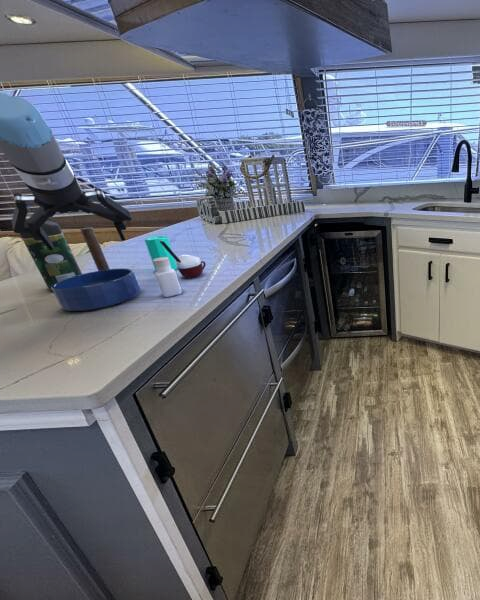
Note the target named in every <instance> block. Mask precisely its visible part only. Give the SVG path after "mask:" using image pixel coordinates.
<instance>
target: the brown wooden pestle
mask: <svg viewBox="0 0 480 600" xmlns="http://www.w3.org/2000/svg"><path fill="white" fill-rule="evenodd" d="M80 232H81V234H82V236H83V239H84V241H85V244H86V246H87V248H88V250H89V254H91V257H92V260H93V262H94V264H95V267H96V269H97V271H100V270H108V269H110V266H109V264H108V262H107V259H106V256H105V254H104V252H103V250H102V247H101V245H100V243H99V240H98V238H97V235H96V233H95V231H94V228H93V227H83V228H80Z"/></svg>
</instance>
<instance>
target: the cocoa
mask: <svg viewBox="0 0 480 600" xmlns="http://www.w3.org/2000/svg"><path fill="white" fill-rule="evenodd" d="M160 243H161V244H162V245H163V246H164V247H165V249H166V250H167V251H168V252H169V253H170V254H171V255H172V257H173V258H174V259H175V262H176V265H177V269H178V272H179V273H180V275H181V276H182V277H184V278H185V279H195V278H198V277H200V276H201V275H202V274H203V272H204V270H205V267H206V262H205V261H204V260H201V258H200V257H199V256H194V255H189V254H181V255H179V256H177V255H176V254H175V252H173V250H171V249H172V248H171V249H170V248H169V247H168V246H167V245H166V243H165V242H163V241H160Z"/></svg>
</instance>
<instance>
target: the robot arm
mask: <svg viewBox="0 0 480 600" xmlns="http://www.w3.org/2000/svg"><path fill="white" fill-rule="evenodd" d="M59 145H60V144H59V143H58V141H57V139H56V137H55V135H54V134H53V130H52V128H51V126H50V125H49V123H48V122H47V121H46V119H45V118H44V116H43V115H42V113H41V111H40V110H39V109H38V107H36V106H35V104H33V103H32V102H31V101H29V100H27V99H25V98H23V97H22V96H21V97H20V96H15V95H14V96H13V95H10V94H9V93H3V92H0V151H1V152H2V154H3V155H4V157H5V158H6V159H7V160H8V162H9V163H10V164H11V167H12V168H13V169H14V171H16V173H17V174H18V176H19V177H20V179H21V180H22V181H23V182H24V184H25V186H26V187H27V189H28V190H29V192H30V193H31V194H32V195H31V196H30V195H29V196H24V195H23V194H22V193H19V192H18V193H17V192H16V193H13V198H14V203H15V206H14V211H13V215H12V218H11V226H12V230H13V233H15V234H20V233H22V232H27V233H29V234H30V235H31V236H32V237H33V239H34V240H36V241H39V240H42V241H43V243H44V244H45V245H46V246H47V248H48V249H49V250H54V247H53V244H52V240H51V239H50V238H49V237H48V235H47V234H46V233H45V231H44V230H43V229H42V227H41V226H42V225H43V224H44V223H45V222H46V221H47V220H48V221H49V219H50V218H53V217H54V216H55V215H56V214H57V213H59V214H67V213H79V212H83V213H86V214H88V215H89V214H92V215H95V216H98V217H100V218H103V219H106V220H108V221H111V222H113V225H114V227H115V229H116V231H117V233H118V235H119V238H120V240H121V241H126V238H125V235H124V232H123V231H125V230H127V226H126V223H125V221H127V222H131V221H132V216H131V213H130V211H129V210H128V209H126V208H125V207H124V206H122V205H121V204H119V203H118V202H117V201H115V200H113V199H112V198H111V197H109V196H108V195H106V194H105V193H104V191H103V190H102V189H101V188H99V187H95V188H94V191H89V192H87V191H85V190H83V189H82V187H81V184H80V183H79V182H78V179H77V177H76V176H75V174H74V172H73V170H72V167H71V166H70V165H69V162H68V160H67V159H66V157H65V155H64V153H63V151H62V149H61V147H60V146H59ZM92 200H93V201H95V202H93V201H92ZM34 204H35V205H37V206H39V207H38V208H37V209H36V210H35V211H34V212H33V213H32V215H30V216H29V218H27V217H28V213H29V212H28V210H29V209H31V207H32V205H34Z"/></svg>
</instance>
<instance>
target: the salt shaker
mask: <svg viewBox="0 0 480 600" xmlns="http://www.w3.org/2000/svg"><path fill="white" fill-rule="evenodd" d="M153 263H154V265H155V268H156V270H157V272H156V270H155V272H154V274H155V277H156V281H157V282H158V286H159V288H160V291H161V294H162V296H163V297H164V298H169V297H173V296H178V295H181V294H182V293H183V290H182V287H181V285H180V282H179V278H178V275H177V273H176V270H174V269H171V266H170V262H169V259H168V258H167V257H162V258H156V259H154V260H153V262H152V264H153ZM154 265H153V266H154ZM155 268H154V269H155Z"/></svg>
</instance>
